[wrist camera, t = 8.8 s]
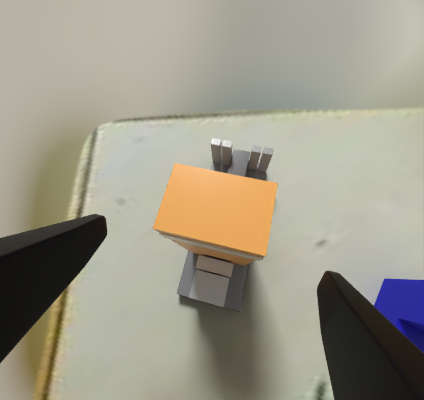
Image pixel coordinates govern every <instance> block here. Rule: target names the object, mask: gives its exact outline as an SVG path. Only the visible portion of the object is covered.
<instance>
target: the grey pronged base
mask: <svg viewBox="0 0 424 400" xmlns="http://www.w3.org/2000/svg"><path fill="white" fill-rule="evenodd" d="M211 149H212V158H213V164H212V167H211V170H213V171H218V172H223V173H228V174H233V175H238V176H243V177H248V178H253V179H259V180H264V179H265V173H266V170H267V167H268V165H269V162H270V160H271V157H272V155H273V149H271V148H266V147H264V150H263V153H262V156H261V159H260V163H259V162H258V160H259V157H260V153H261V149H262V147H260V146H254V145H253V146H252V151H251V155H250V152H247V151H241V150H236V149H233V153H232V142H231V141H225V140H223V144H222V147H221V140H220V139H214V138H212V142H211ZM249 155H250V160H249ZM248 160H249V161H248ZM248 265H249V263H248V264H246V265H245V266H242V265H238V264H234V263H231V261H229V260H225V259H221V258H217V257H213V256H209V255H205V254H204V256H203V255H199V254H195V253H192V252H190V251H188V254H187V258H186V261H185V265H184V269H183V272H182V276H181V279H180V283H179V287H178V290H177V294H179V295H183V296H186V297H189V298H192V299H196V300H199V301H203V302H206V303H210V304H213V305H217V306H220V307H225V308H229V309H232V310H236V311H239V312H240V308H241V303H242V297H243V292H244V286H245V281H246V276H247V270H248Z"/></svg>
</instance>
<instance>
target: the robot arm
mask: <svg viewBox="0 0 424 400" xmlns="http://www.w3.org/2000/svg"><path fill="white" fill-rule="evenodd" d="M106 236H107V225H106V218H105V217H104V216H102V215H98V214H93V215H89V216H85V217H81V218H77V219H73V220H69V221H65V222H61V223H57V224H53V225H50V226H46V227H42V228H38V229H34V230H30V231H27V232H22V233H19V234H14V235H11V236H7V237H3V238H0V363H1V362H2V361H3V360H4V358H5V357H6V356H7V355H8V354H9V353H10V352H11V350H12V349H13V348H14V347H15V346H16V345H17V343H18V342H19V341H20V340H21V339H22V338H23V337H24V335H25V334H26V333H27V332H28V331H29V330H30V329H31V328H32V326H33V325H34V324H35V323H36V322H37V321H38V320H39V318H40V317H41V316H42V315H43V314H44V312H46V310H47V309H48V308H49V307H50V306H51V305H52V304H53V302H54V301H55V300H56V299H57V298H58V297H59V296H60V294H61V293H62V292H63V291H64V290H65V289H66V288H67V286H68V285H69V284H70V283H71V282H72V281H73V280H74V278H75V277H76V276H77V275H78V274H79V273H80V271H81V270H82V269H83V268H84V267H85V265H86V264H87V263H88V261H89V260H90V259H91V257H92V256H93V254H94V253H95V252H96V250H97V249H98V247H99V246H100V245H101V243H102V242H103V241H104V239H105V238H106ZM317 297H318V307H319V318H320V328H321V335H322V341H323V346H324V351H325V356H326V360H327V365H328V370H329V375H330V380H331V385H332V390H333V394H334V399H335V400H424V353H423V352H422V351H421V350H420V349H419V348H418V347H417V346H416V345H415V344H413V343H412V342H411V341H410V340H409V339H408V338H407V337H406V336H405V335H404V334H403V333H402V332H401V331H400V330H399V329H398V328H397V327H395V326H394V325H393V324H392V323H391V322H390V321H389V320H388V319H387V318H386V317H385V316H384V315H383V314H382V313H381V312H380V311H379V310H377V309H376V308H375V307H374V306H373V305H372V304H371V303H370V302H369V301H368V300H367V299H366V298H365V297H364V296H363V295H362V294H361V293H359V292H358V291H357V290H356V289H355V288H354V287H353V286H352V285H351V284H350V283H349V282H348V281H347V280H346V279H345V278H344V277H343V276H341V275H340V274H339V273H337V272H333V271H326V272H325V273H324V275H323V277H322V279H321V281H320V283H319V285H318V288H317Z"/></svg>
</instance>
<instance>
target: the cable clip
mask: <svg viewBox="0 0 424 400" xmlns="http://www.w3.org/2000/svg"><path fill="white" fill-rule="evenodd" d="M374 307H375V308H376V309H377V310H379V311H380V312H381V313H382V314H383V315H384V316H385V317H386V318H387V319H388V320H389V321H390V322H391V323H392V324H393V325H394V326H395V327H397V328H398V329H399V330H400V331H401V332H402V333H403V334H404V335H405V336H406V337H407V338H408V339H409V340H410V341H411V342H412V343H413V344H415V345H416V346H417V347H418V348H419V349H420V350H421V351H422V352H423V353H424V280H407V279H384V281H383V284H382V286H381V289H380V292H379V294H378V297H377V299H376V302H375V304H374Z"/></svg>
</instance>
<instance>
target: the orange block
mask: <svg viewBox="0 0 424 400" xmlns="http://www.w3.org/2000/svg"><path fill="white" fill-rule="evenodd" d="M277 185H278V183H274V182H269V181H264V180H259V179H253V178H248V177H243V176H238V175H233V174H228V173H223V172H218V171H213V170H207V169H202V168H197V167H192V166H187V165H182V164H177V163H175V164H174V167H173V170H172V173H171V176H170V179H169V182H168V185H167V188H166V191H165V194H164V197H163V200H162V203H161V205H160V208H159V211H158V214H157V217H156V220H155V223H154V226H153V229H154V230H156V231H158V234H160V235H162V236H163V237H165V238H168V239H171V240H172V241H174V242H176V243H177V244H179V245H180V246H182V247H184V248H185V249H187V250H188V251H190V252H192V253H195V254H199V255H203V256H204V254H205V255H209V256H213V257H217V258H221V259H225V260H229V261H231V263H234V264H238V265H242V266H245V265H246V264H248V263H251V262H253V261H255V260H257V261H260V260H262V259H263V257H265V256H266V252H267V246H268V240H269V234H270V228H271V222H272V215H273V209H274V203H275V197H276V191H277Z"/></svg>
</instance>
